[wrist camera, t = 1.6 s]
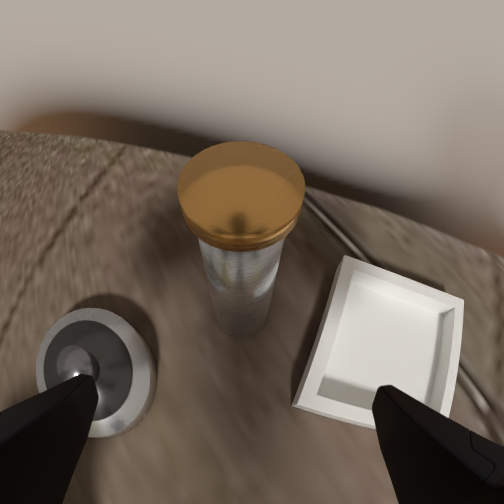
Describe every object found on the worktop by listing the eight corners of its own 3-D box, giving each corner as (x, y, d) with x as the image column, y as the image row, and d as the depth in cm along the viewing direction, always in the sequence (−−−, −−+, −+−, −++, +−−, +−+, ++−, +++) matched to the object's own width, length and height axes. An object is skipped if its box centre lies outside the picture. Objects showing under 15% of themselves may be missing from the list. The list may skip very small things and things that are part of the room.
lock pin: (241, 355, 22) (241, 259, 9) (197, 312, 23) (152, 182, 11) (284, 312, 23) (329, 182, 11) (240, 273, 25) (241, 128, 13)
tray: (426, 438, 18) (443, 438, 15) (291, 405, 20) (297, 404, 17) (449, 310, 23) (463, 300, 21) (336, 269, 25) (344, 254, 23)
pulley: (95, 459, 16) (68, 464, 13) (32, 363, 20) (4, 350, 16) (183, 383, 20) (171, 376, 17) (108, 293, 24) (88, 271, 20)
